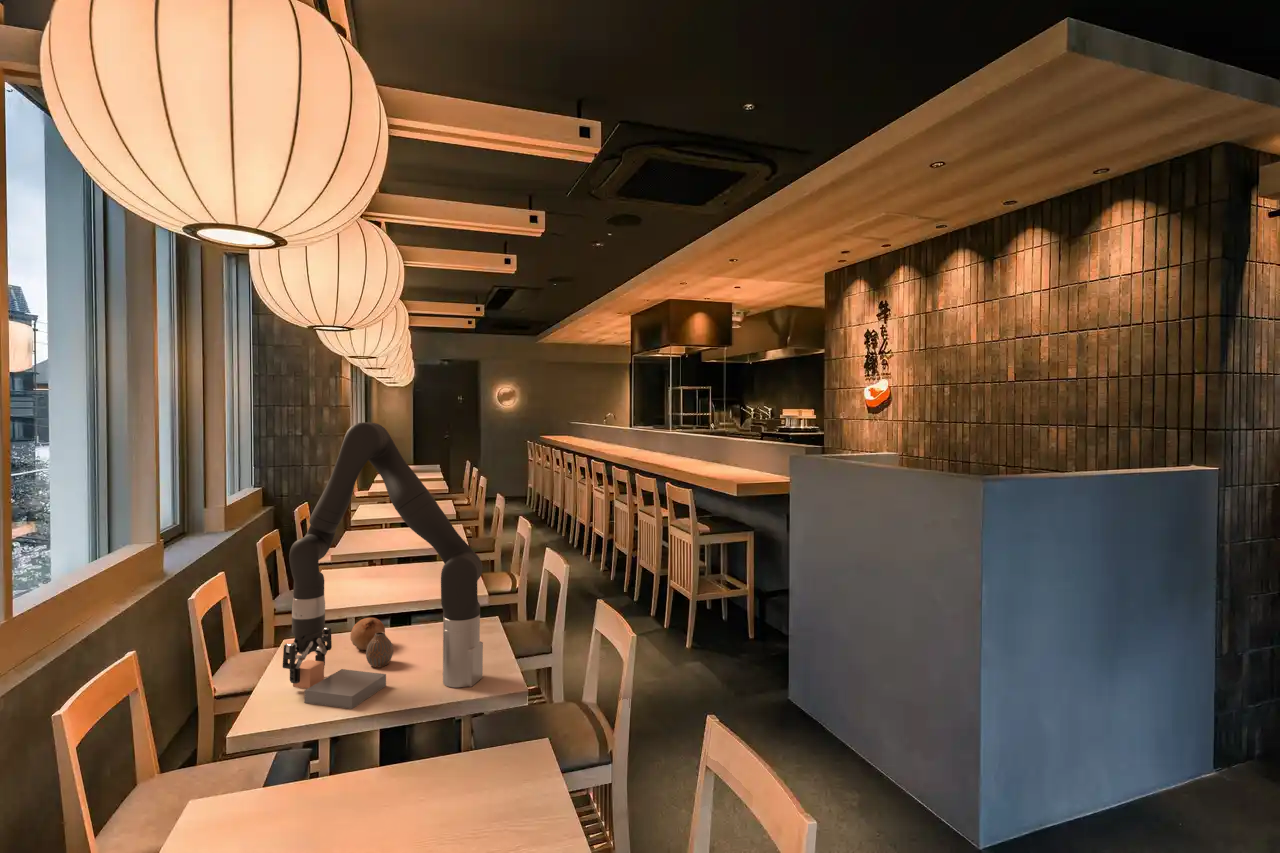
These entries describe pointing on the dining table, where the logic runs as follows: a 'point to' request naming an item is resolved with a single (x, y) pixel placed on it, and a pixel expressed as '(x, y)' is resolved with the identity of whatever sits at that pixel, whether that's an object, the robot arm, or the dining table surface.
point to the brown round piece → (365, 632)
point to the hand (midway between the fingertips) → (307, 675)
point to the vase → (379, 650)
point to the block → (310, 673)
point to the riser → (345, 688)
